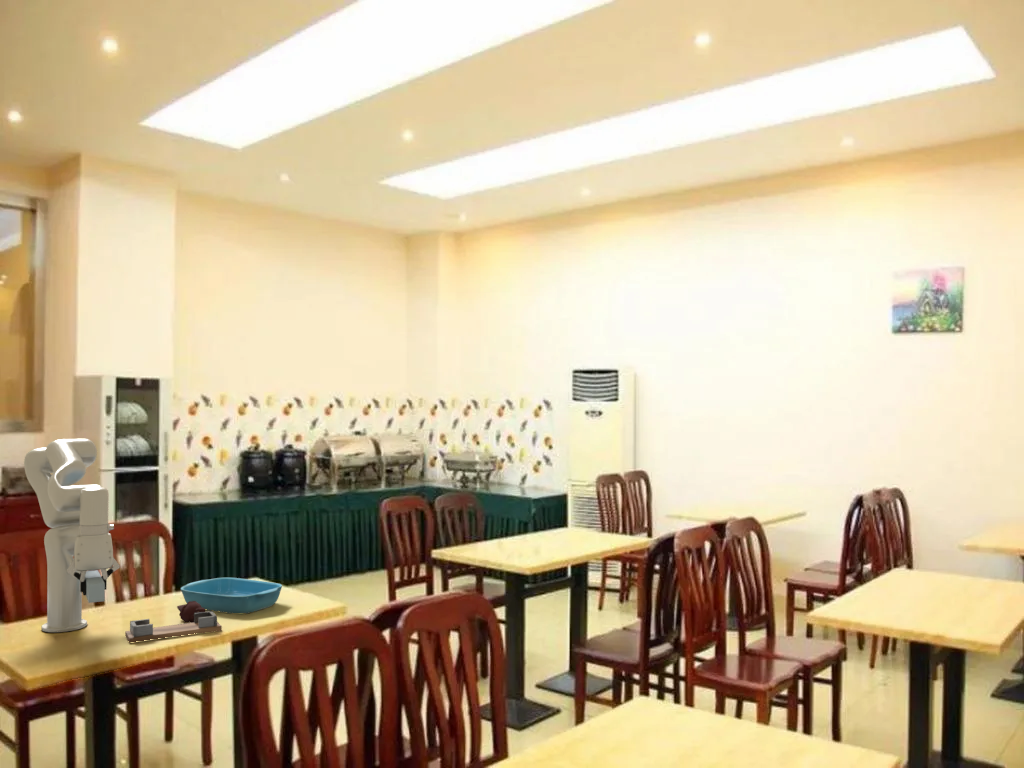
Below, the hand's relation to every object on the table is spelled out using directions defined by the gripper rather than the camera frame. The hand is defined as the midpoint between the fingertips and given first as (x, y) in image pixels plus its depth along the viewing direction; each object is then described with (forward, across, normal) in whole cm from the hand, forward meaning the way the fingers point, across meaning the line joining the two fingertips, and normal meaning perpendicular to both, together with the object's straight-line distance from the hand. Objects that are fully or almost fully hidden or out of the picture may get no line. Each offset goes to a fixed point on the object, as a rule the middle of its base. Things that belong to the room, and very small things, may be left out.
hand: (93, 592), depth 248 cm
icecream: (+15, -29, -11) cm, 34 cm away
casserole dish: (+15, -45, -27) cm, 55 cm away
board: (+15, -22, 0) cm, 27 cm away
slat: (0, 0, 0) cm, 0 cm away
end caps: (+13, -22, 0) cm, 26 cm away
